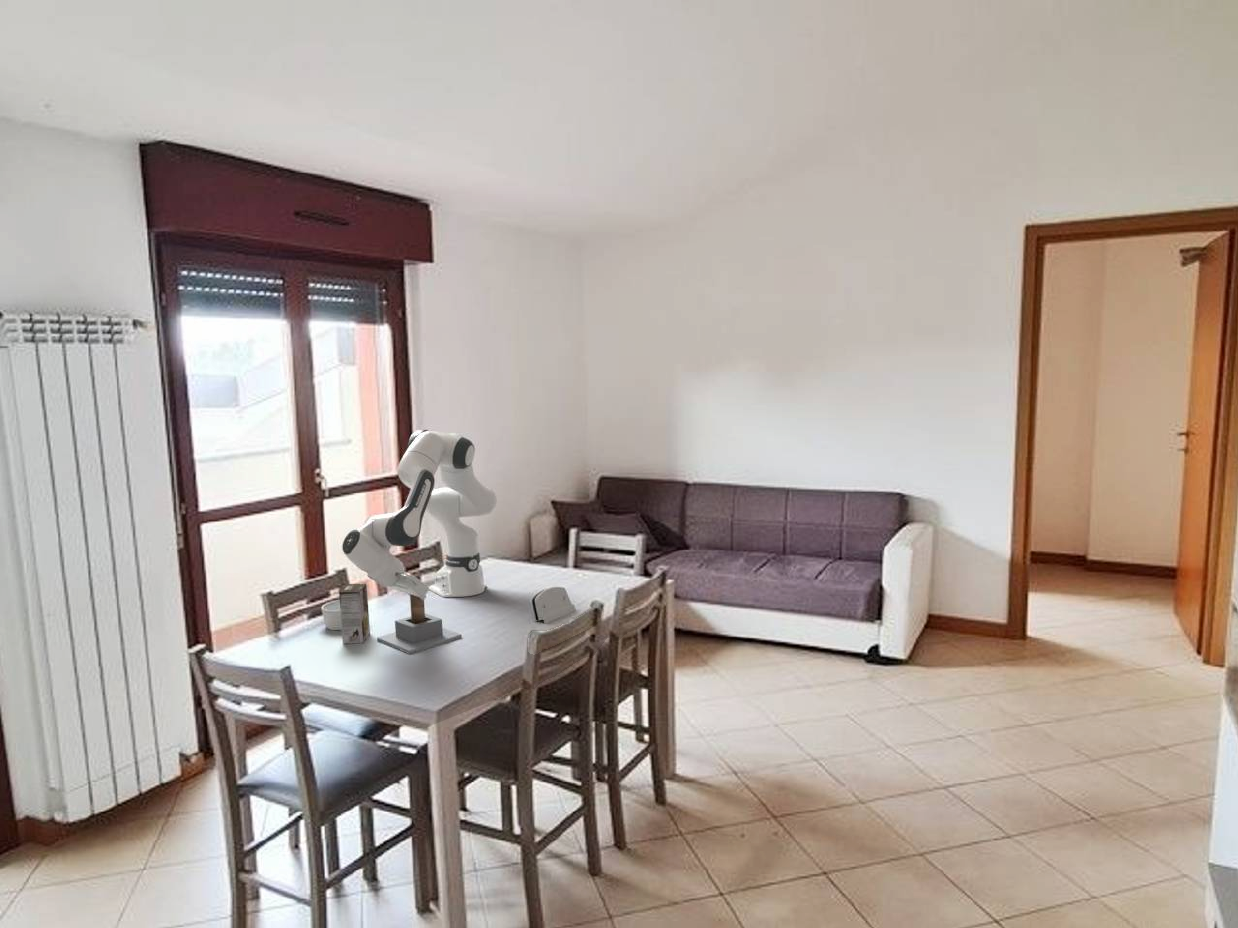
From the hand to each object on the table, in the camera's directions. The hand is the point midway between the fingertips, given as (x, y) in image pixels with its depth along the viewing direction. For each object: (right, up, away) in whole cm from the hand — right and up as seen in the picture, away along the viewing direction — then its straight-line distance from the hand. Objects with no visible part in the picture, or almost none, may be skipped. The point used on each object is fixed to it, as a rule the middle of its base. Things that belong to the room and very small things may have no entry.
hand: (418, 596), depth 238 cm
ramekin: (-28, -12, +16) cm, 35 cm away
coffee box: (-20, -14, +3) cm, 24 cm away
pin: (0, -9, +1) cm, 9 cm away
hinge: (+38, -10, +22) cm, 45 cm away
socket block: (0, -13, +1) cm, 13 cm away
